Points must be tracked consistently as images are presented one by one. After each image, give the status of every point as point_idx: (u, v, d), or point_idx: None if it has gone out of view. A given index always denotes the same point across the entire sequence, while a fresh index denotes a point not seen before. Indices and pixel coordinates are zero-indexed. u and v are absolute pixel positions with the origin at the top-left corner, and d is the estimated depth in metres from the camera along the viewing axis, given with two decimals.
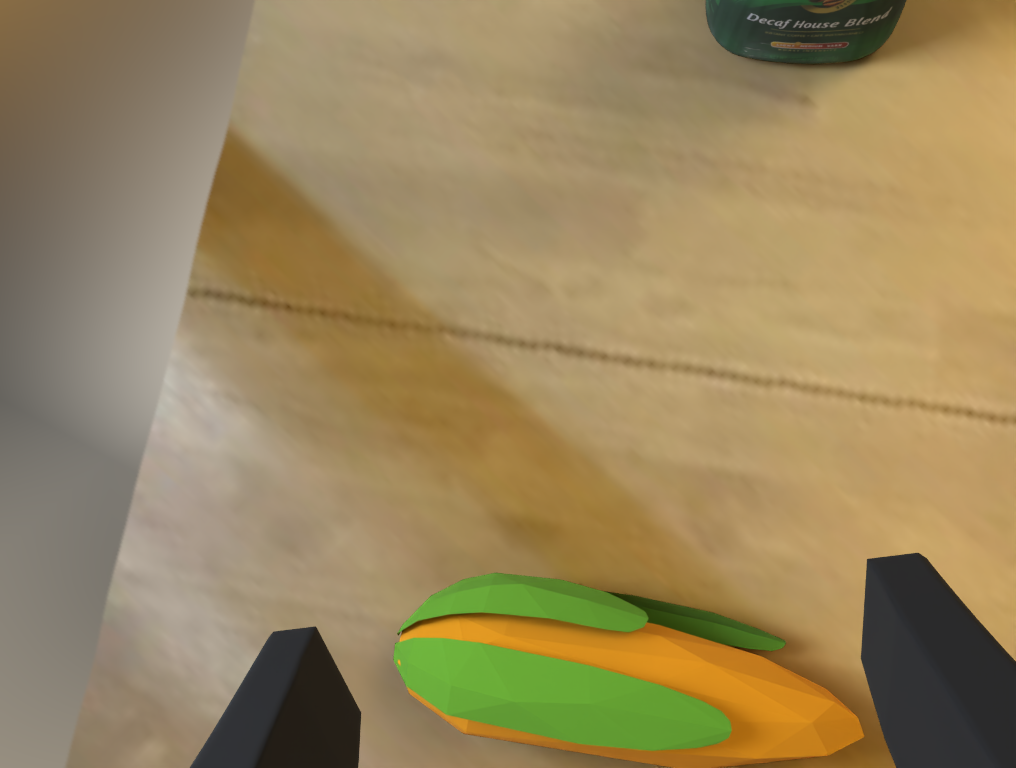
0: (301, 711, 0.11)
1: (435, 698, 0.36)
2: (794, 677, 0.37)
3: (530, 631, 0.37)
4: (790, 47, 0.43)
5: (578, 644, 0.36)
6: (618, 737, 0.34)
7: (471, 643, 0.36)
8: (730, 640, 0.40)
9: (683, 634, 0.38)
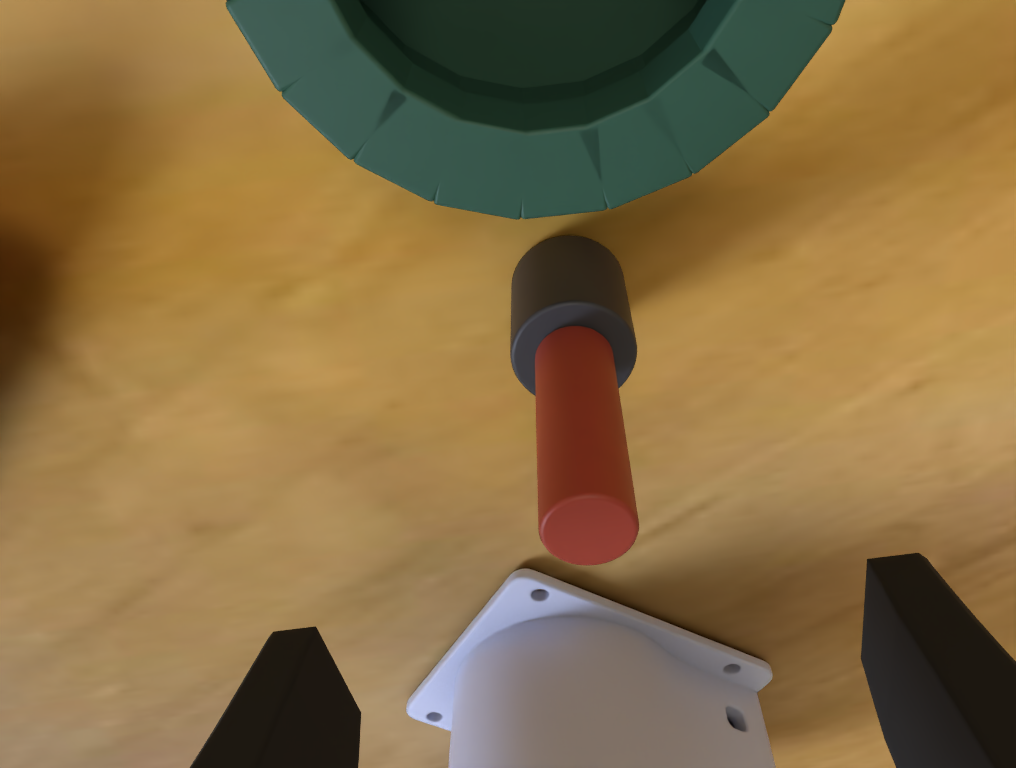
0: (301, 711, 0.11)
1: None
2: None
3: None
4: None
5: None
6: None
7: None
8: None
9: None
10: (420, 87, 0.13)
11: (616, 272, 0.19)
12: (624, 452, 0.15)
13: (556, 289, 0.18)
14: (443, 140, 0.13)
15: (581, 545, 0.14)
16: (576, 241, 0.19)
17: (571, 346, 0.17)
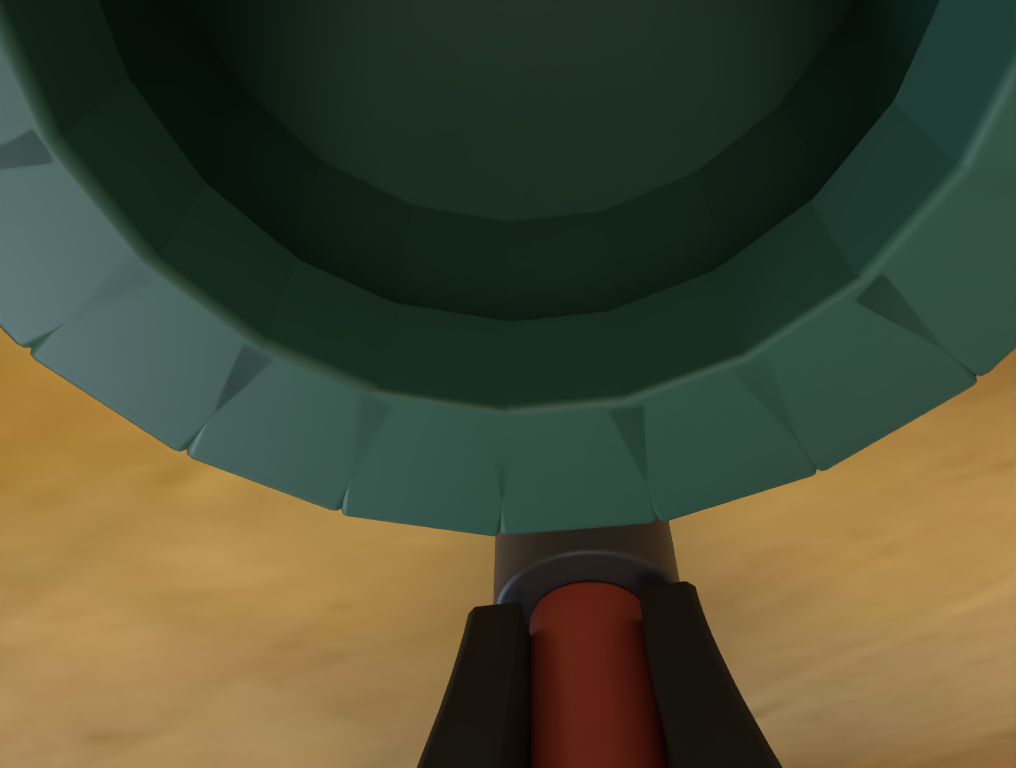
0: (521, 687, 0.10)
1: None
2: None
3: None
4: None
5: None
6: None
7: None
8: None
9: None
10: (304, 324, 0.07)
11: None
12: None
13: None
14: (349, 424, 0.07)
15: None
16: None
17: (585, 628, 0.11)
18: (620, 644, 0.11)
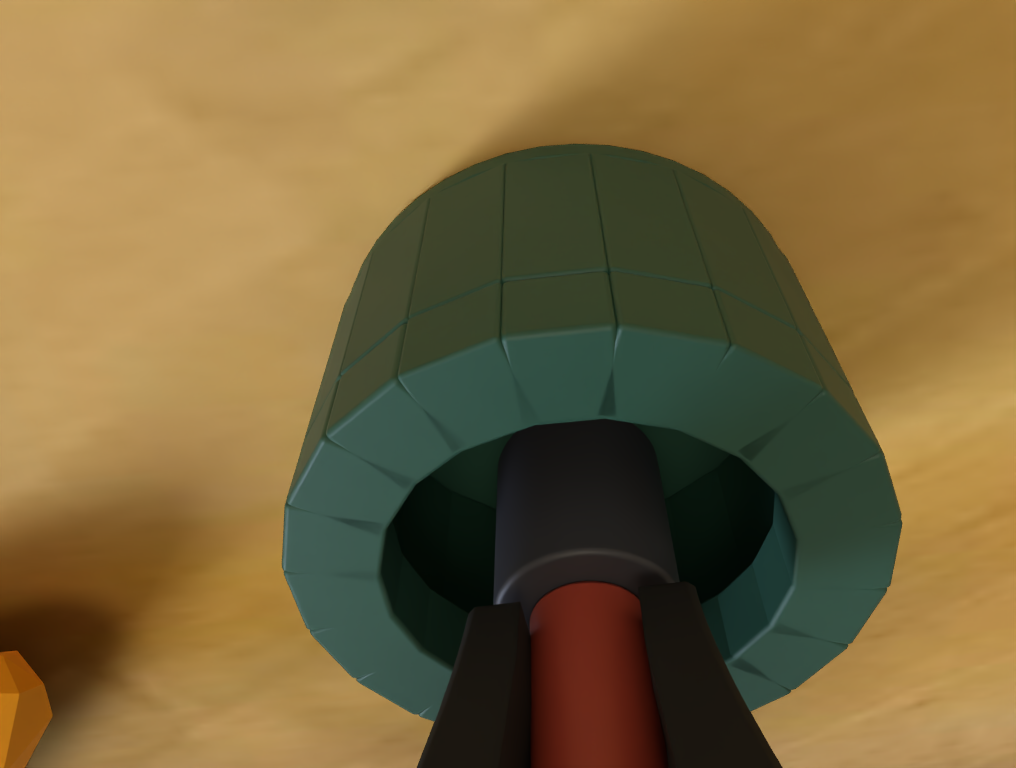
0: (521, 687, 0.10)
1: None
2: None
3: None
4: None
5: None
6: None
7: None
8: None
9: None
10: None
11: (649, 468, 0.13)
12: None
13: (560, 522, 0.12)
14: None
15: None
16: (590, 421, 0.13)
17: (585, 628, 0.11)
18: (620, 644, 0.11)
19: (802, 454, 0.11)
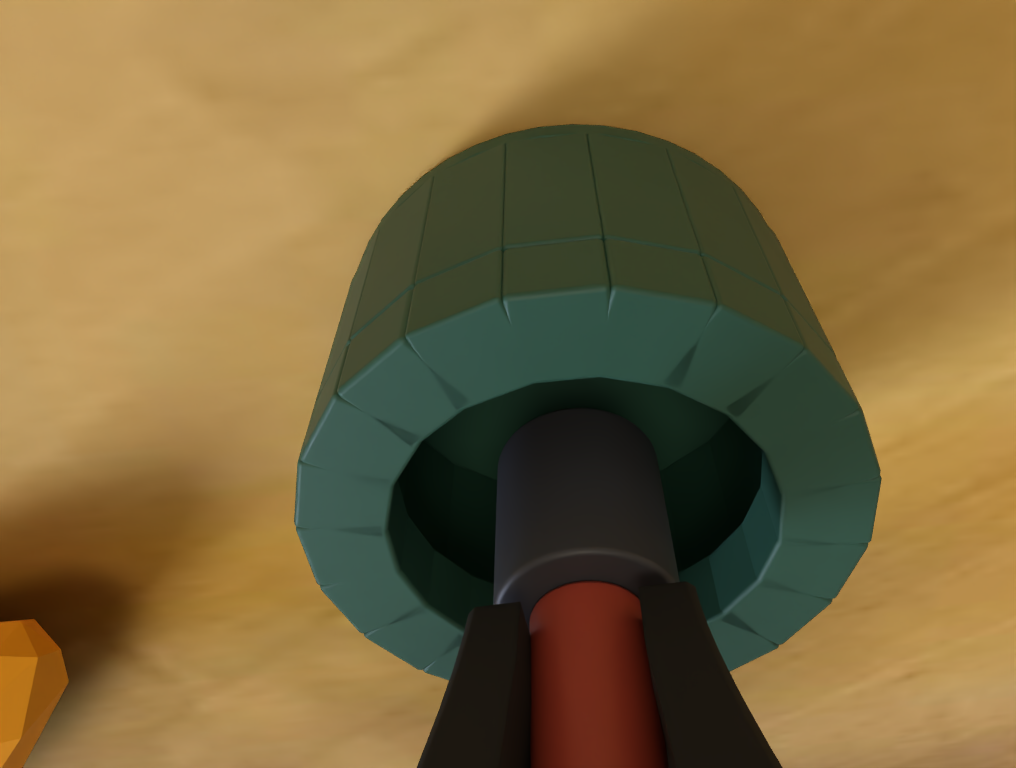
0: (521, 687, 0.10)
1: None
2: None
3: None
4: None
5: None
6: None
7: None
8: None
9: None
10: None
11: (649, 468, 0.13)
12: None
13: (560, 521, 0.12)
14: None
15: None
16: (590, 421, 0.13)
17: (584, 628, 0.11)
18: (620, 644, 0.11)
19: (786, 411, 0.12)
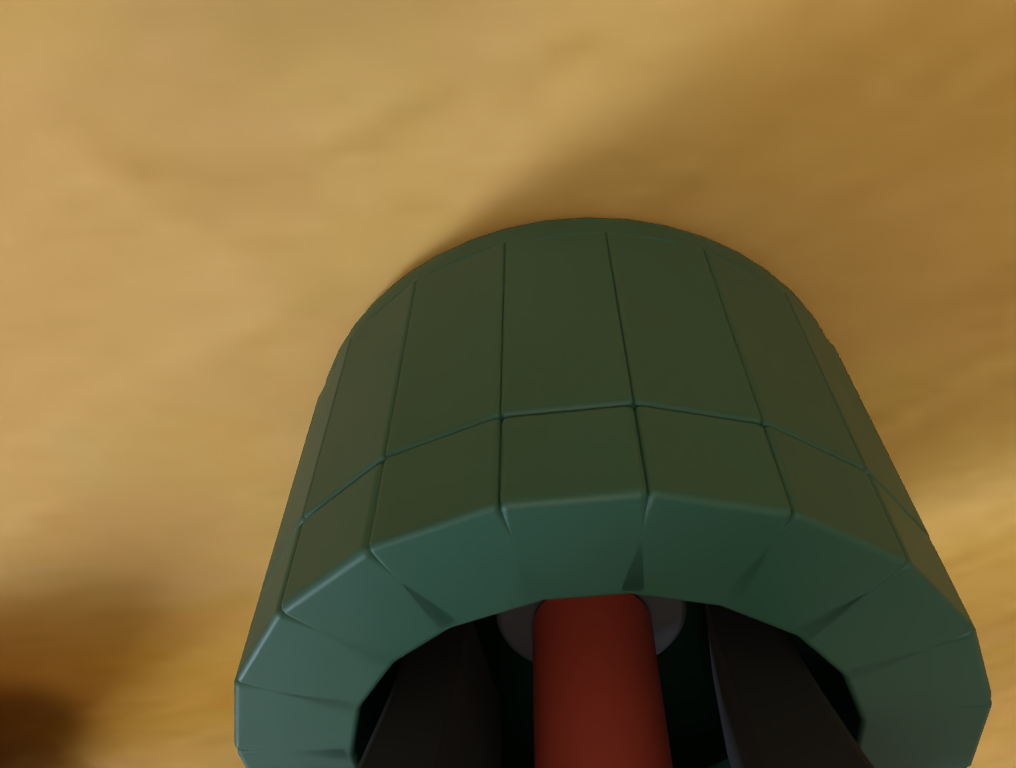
0: (465, 693, 0.10)
1: None
2: None
3: None
4: None
5: None
6: None
7: None
8: None
9: None
10: None
11: None
12: None
13: None
14: None
15: None
16: None
17: (589, 631, 0.11)
18: (624, 647, 0.11)
19: (875, 632, 0.09)
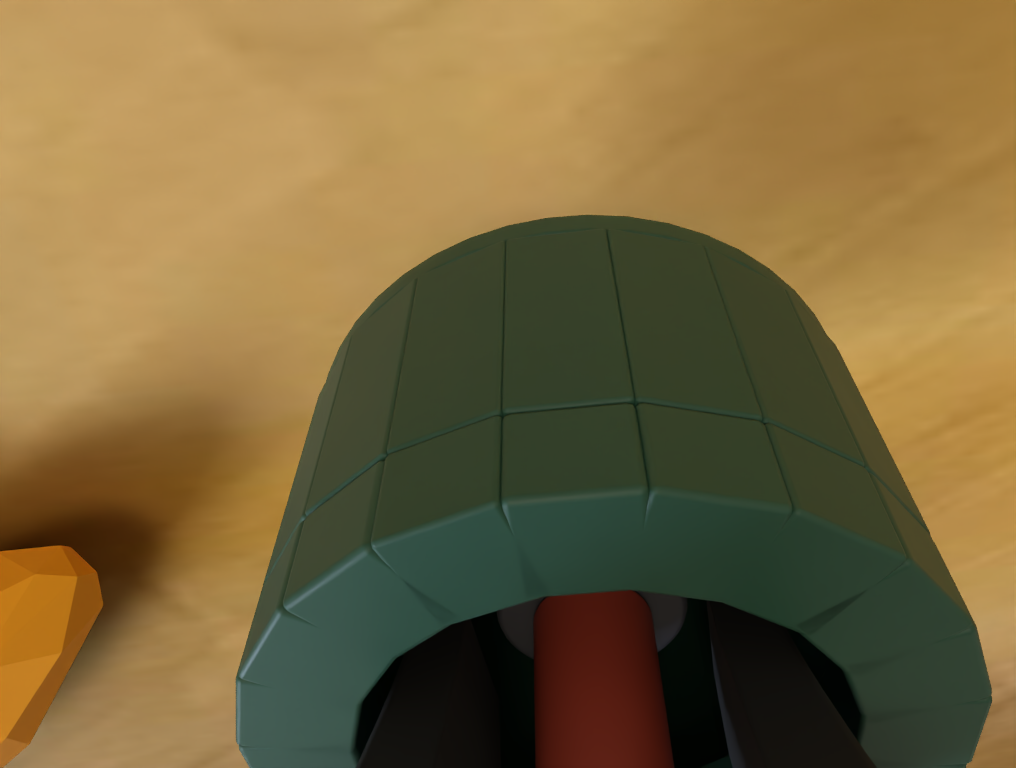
0: (464, 693, 0.10)
1: None
2: None
3: None
4: None
5: None
6: None
7: None
8: None
9: None
10: None
11: None
12: None
13: None
14: None
15: None
16: None
17: (590, 627, 0.11)
18: (625, 644, 0.11)
19: (876, 629, 0.09)
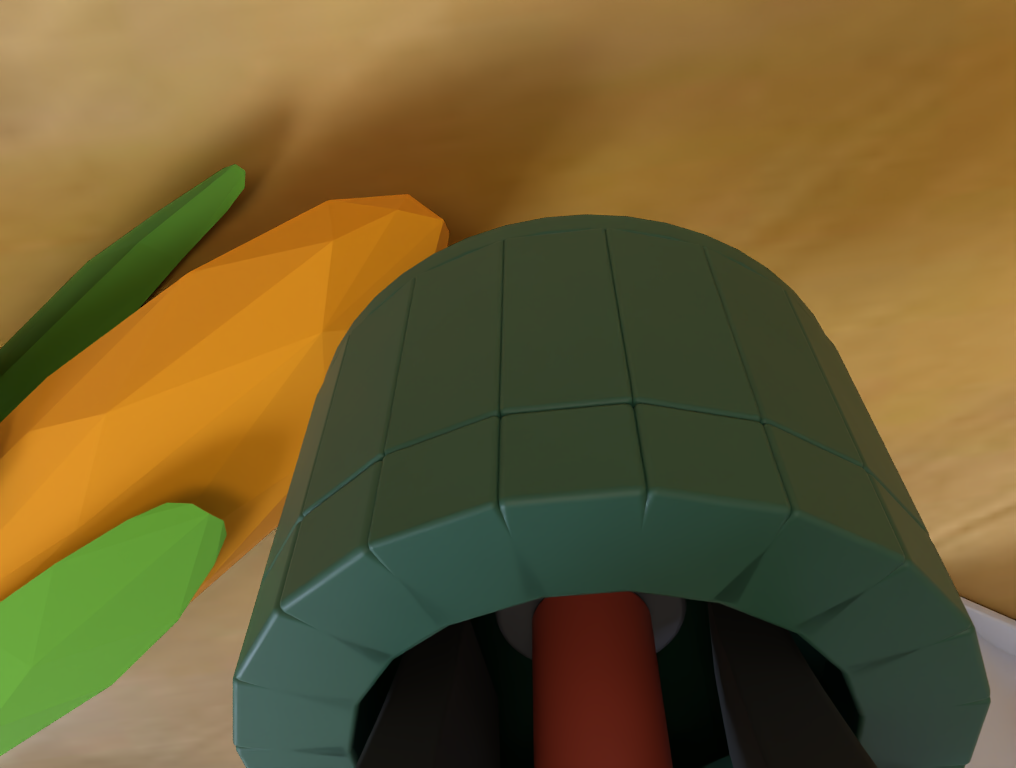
0: (462, 693, 0.10)
1: None
2: (252, 258, 0.16)
3: None
4: None
5: None
6: (123, 649, 0.17)
7: None
8: (191, 232, 0.19)
9: (74, 364, 0.17)
10: None
11: None
12: None
13: None
14: None
15: None
16: None
17: (588, 629, 0.11)
18: (623, 645, 0.11)
19: (874, 630, 0.09)
